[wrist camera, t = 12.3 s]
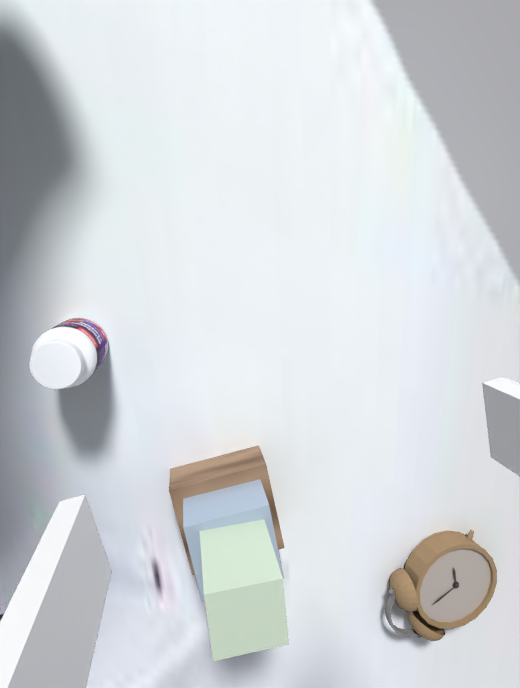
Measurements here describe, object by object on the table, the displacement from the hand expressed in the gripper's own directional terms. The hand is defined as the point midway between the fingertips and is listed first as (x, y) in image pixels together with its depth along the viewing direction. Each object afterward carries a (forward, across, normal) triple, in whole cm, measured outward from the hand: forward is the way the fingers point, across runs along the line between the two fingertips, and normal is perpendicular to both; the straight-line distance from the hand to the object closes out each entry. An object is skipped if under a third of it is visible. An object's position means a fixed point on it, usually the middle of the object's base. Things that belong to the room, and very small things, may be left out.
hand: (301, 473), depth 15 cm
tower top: (+30, -4, -20) cm, 36 cm away
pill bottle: (+35, -14, +1) cm, 38 cm away
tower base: (+35, -4, -20) cm, 40 cm away
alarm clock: (+35, +18, -39) cm, 56 cm away
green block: (+25, -4, -20) cm, 33 cm away
